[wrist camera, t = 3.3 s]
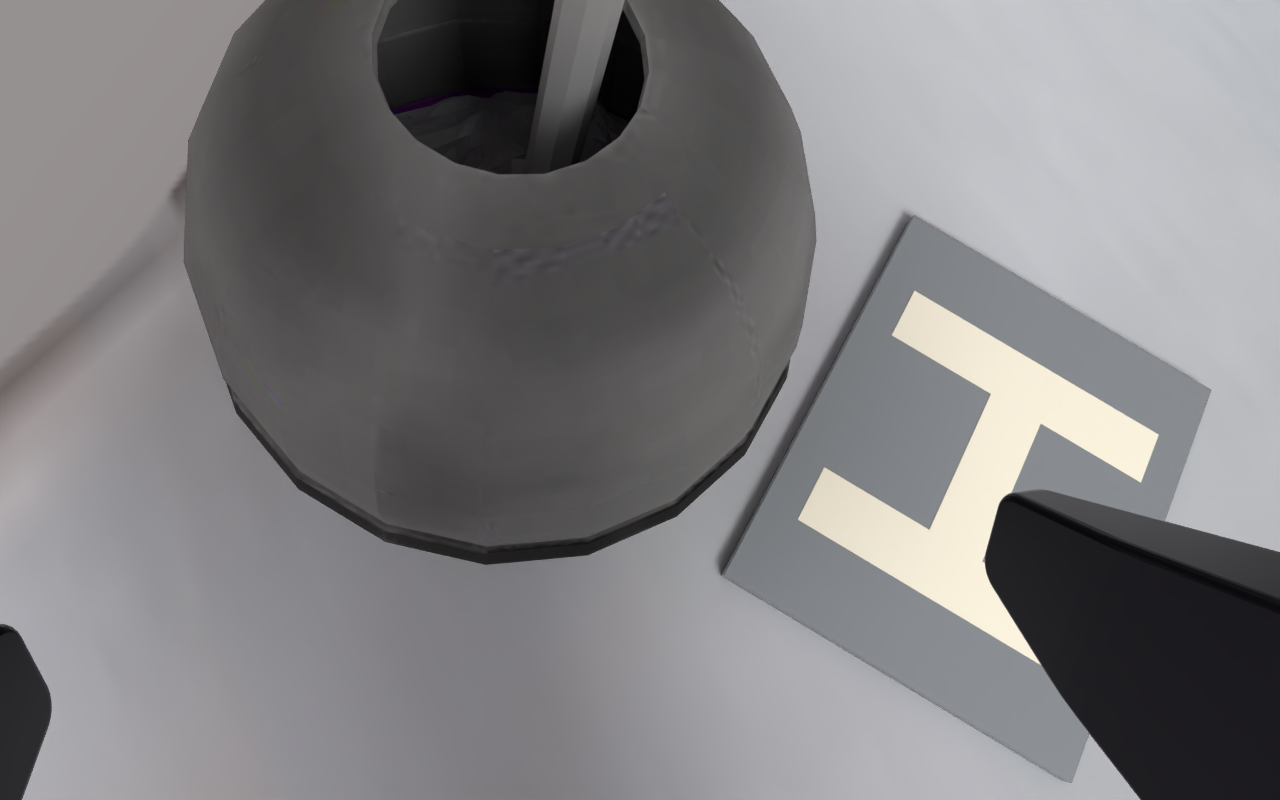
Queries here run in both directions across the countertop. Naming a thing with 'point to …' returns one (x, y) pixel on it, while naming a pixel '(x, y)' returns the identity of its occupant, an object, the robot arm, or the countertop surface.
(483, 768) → the countertop surface
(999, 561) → the robot arm
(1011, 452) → the letter card
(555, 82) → the beverage cup
